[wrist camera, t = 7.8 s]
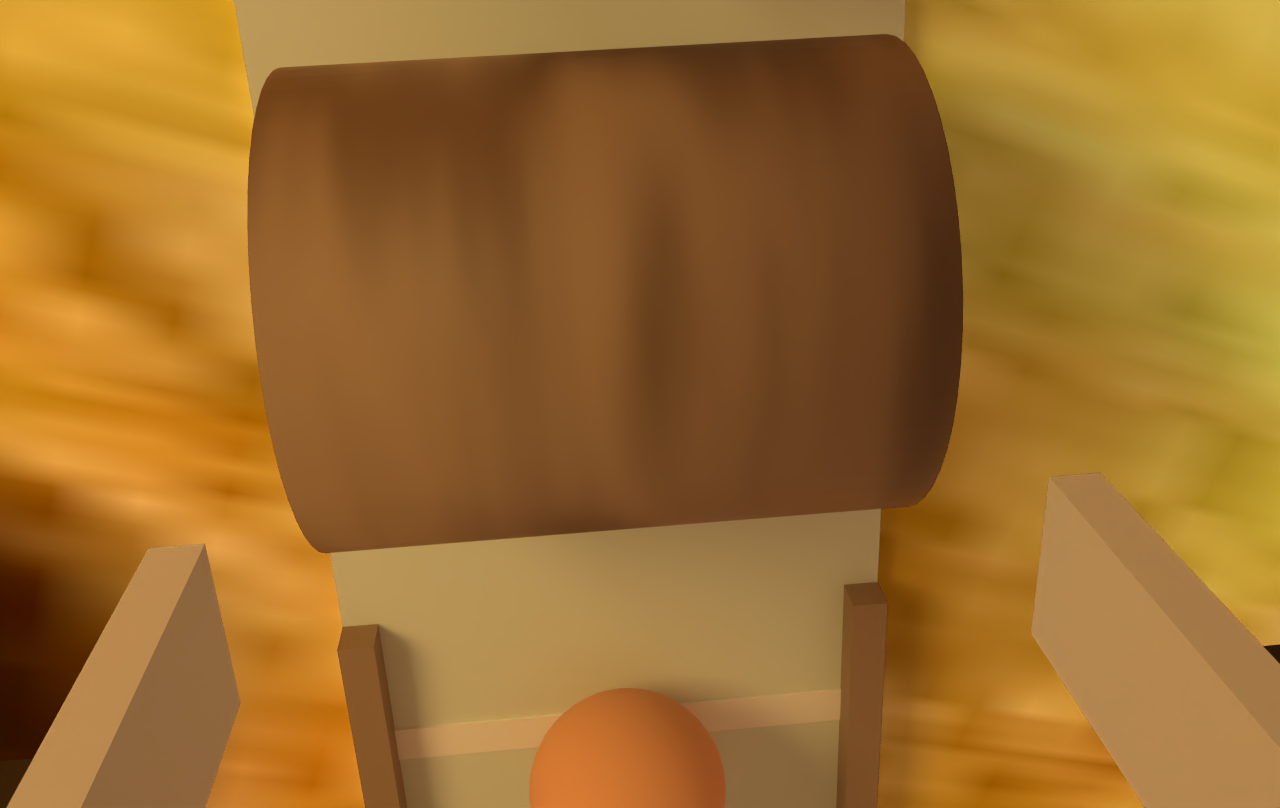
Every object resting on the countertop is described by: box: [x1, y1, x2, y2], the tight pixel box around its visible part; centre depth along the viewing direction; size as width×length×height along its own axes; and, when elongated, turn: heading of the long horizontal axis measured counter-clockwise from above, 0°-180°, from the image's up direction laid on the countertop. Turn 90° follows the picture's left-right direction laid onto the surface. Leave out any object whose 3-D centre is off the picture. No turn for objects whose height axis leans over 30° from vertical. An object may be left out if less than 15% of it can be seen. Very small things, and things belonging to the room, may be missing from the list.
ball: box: [529, 688, 726, 808], centre depth 31 cm, size 5×5×5 cm
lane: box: [234, 0, 906, 808], centre depth 28 cm, size 14×35×5 cm, turn 2°
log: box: [248, 34, 963, 553], centre depth 23 cm, size 11×9×9 cm
